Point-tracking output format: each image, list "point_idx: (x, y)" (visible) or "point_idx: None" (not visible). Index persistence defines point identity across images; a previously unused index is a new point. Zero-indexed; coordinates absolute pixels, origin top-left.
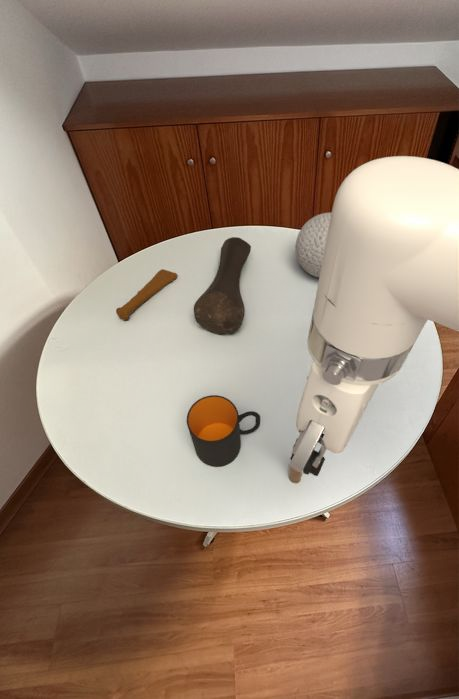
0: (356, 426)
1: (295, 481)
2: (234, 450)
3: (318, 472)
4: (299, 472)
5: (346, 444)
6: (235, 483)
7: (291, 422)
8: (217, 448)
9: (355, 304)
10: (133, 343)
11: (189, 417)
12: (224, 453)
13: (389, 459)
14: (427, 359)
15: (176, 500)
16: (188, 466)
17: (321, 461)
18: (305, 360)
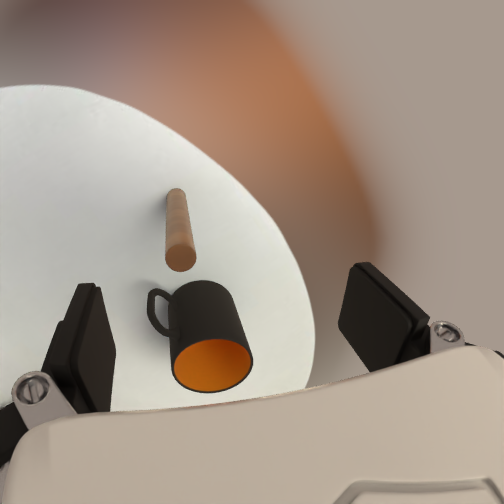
0: (440, 414)
1: (184, 194)
2: (207, 297)
3: (382, 275)
4: (184, 205)
5: (492, 369)
6: (233, 260)
7: (102, 248)
8: (238, 328)
9: None
10: None
11: (228, 382)
12: (226, 309)
13: (66, 93)
14: None
15: (289, 300)
16: (247, 316)
17: (427, 322)
18: (11, 286)
